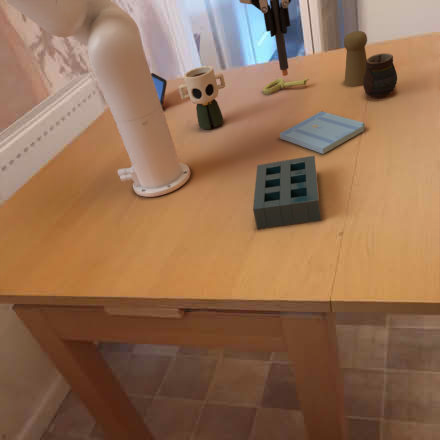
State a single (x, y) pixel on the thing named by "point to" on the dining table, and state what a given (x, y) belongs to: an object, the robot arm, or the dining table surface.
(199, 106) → the character mug
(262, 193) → the pen stand
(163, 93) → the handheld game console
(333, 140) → the light blue flat board
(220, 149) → the dining table surface
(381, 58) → the mate gourd
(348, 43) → the cork
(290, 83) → the key
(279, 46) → the stylus
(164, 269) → the dining table surface
